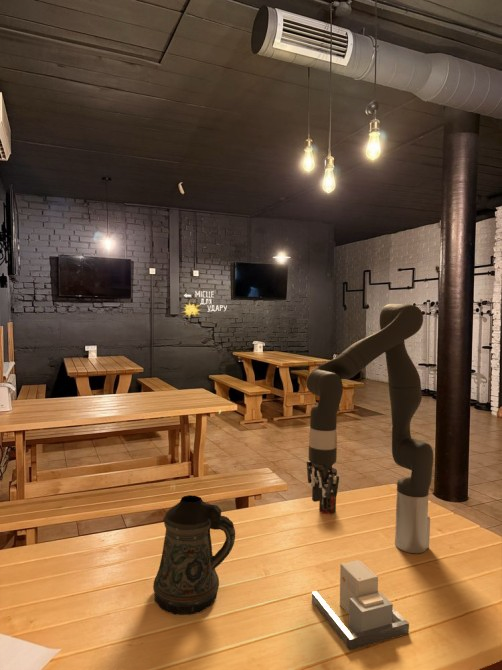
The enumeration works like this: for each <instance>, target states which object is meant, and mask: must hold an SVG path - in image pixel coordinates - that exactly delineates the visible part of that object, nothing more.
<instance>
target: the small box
mask: <svg viewBox="0 0 502 670" xmlns="http://www.w3.org/2000/svg"><path fill="white" fill-rule="evenodd" d="M339 568H340V570H339V571H340V572H339V573H340V574H339V578H340V579H339V606H340V607H342V608H343V610H344V611H345V612H346V614H348V615H349V603H350V598H353V597H357V596H361V595H365V594H369V593H374V592H378V591H379V576H378V575H376V573H375V572H373V571H372V570H371V569H370V568H369V567H368V566H367V565H365V564H364V563H363V562H362V561H361V560H359V559H357V560H352V561H348V562H344V563H340V567H339Z"/></svg>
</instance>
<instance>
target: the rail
mask: <svg viewBox="0 0 502 670" xmlns="http://www.w3.org/2000/svg"><path fill="white" fill-rule="evenodd" d="M311 602H312V604H313V605H314V607H315V608H316V609H317V610H318V612H319V613H320V615H321V616H322V617H323V618H324V620H325V621H326V622H327V624H328V625H329V626H330V627H331V629H332V630H333V631H334V632H335V634H336V635H337V636H338V638H339V639H340V640H341V641H342V642H343V644H344V645H345V647H346V648H347V649H348V651H349V652H351V651H354V650H356V649H357V650H358V649H361V648H364V647H367V646H372V645H374V644H378V643H381V642H385V641H389V640H393V639H395V638H396V639H397V638H398V637H403V636H406V635H409V632H410V630H409V629H410V622H408V621H407V620H406V619H405V618H404V617H403V616H402V615H401V614H400V613H399V612H398V611H397V610H396V609H395V608H394V607H393V609H392V624H388V625H385V626H381V627H377V628H374V629H370V630H366V631H363V632H359V633H355V634H354V633H351V631H350V629H349V628H347V627H346V626H345V624H344V623H343V622H342V621H341V619H340V617H338V616H337V614H335V612H334V610H332V608H330V606H329V605H328V604H327V603H326V601H325V600H324V599H323V598H322V596H321V595H320V593H318V591H317V590H315V591H312V592H311Z"/></svg>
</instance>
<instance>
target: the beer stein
mask: <svg viewBox="0 0 502 670" xmlns="http://www.w3.org/2000/svg"><path fill="white" fill-rule="evenodd" d="M163 523H164V524H163V525H164V528H165V534H164V540H163V545H162V552H161V558H160V563H159V567H158V571H157V573H156V575H155V578H154V580H153V585H152V586H153V593H154V603H156V605H157V606H158V607H159V609H161V610H162V611H164V612H167V613H169V614H172V615H175V616H179V615H180V616H184V615H185V616H192V615H195V614H197V613H201V612H203V611H205V610H207V609H208V608H210V607H212V605H213V603H214V602H215V601H216V599H217V597H218V596H217V595H218V592H219V591H218V590H219V587H220V580H219V576H218V573H217V569H216V568H217V567H219V566H220V565H221V564H222V563H223V562H224V560H225V559H226V558H227V557H228V556H229V555H230V553H231V551H232V550H233V547H234V546H235V541H236V529H235V527H234V526H235V524H234V522H233V521H232V520H231V519H229V517H228V516H225V515H222V510H221V508H220V507H219V506H218V504H217V505H216V504H209V503H206V502H205V501H203V499H202V497H200V496H198V495H184V496H183V497H181V499H180V500H179V502H178V503H177V504H175V505H173V506H172V507H171V508H169V509H168V510H167V511H166V513H165V514H164V516H163ZM211 530H214V531H215V530H217V531H218V530H221V531H222V532H224V535H225V541H224V542H223V545H222V547H221V548H220V549H219V550H218V551H217V552H216V553H215V554H214V555H213V547H212V538H211Z"/></svg>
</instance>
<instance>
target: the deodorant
mask: <svg viewBox="0 0 502 670" xmlns="http://www.w3.org/2000/svg"><path fill="white" fill-rule="evenodd" d="M332 470H333V474H334V476H338V475H337V474H338V470H337V468H336V467H332ZM323 484H324V485H326V484H328V482H327V483H323ZM326 492H327V487H326ZM318 502H319V503H318V504H319V507H318V509H319V510H320V511H319V512H320V513H321V512H322V513H321V514H324V515H333V514H336V513H337V496H336V497H332V498H331V509H330V510H327V511H324V510H323V492H322V488H320V501H318Z"/></svg>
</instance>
